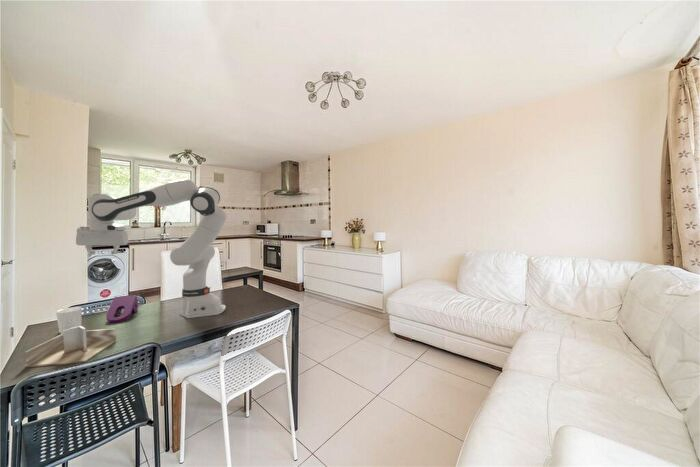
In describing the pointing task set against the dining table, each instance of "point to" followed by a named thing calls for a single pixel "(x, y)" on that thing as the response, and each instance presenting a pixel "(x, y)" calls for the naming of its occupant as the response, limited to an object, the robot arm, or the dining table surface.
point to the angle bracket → (74, 339)
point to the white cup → (69, 318)
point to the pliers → (102, 311)
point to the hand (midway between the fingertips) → (103, 254)
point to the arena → (55, 355)
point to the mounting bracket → (121, 303)
